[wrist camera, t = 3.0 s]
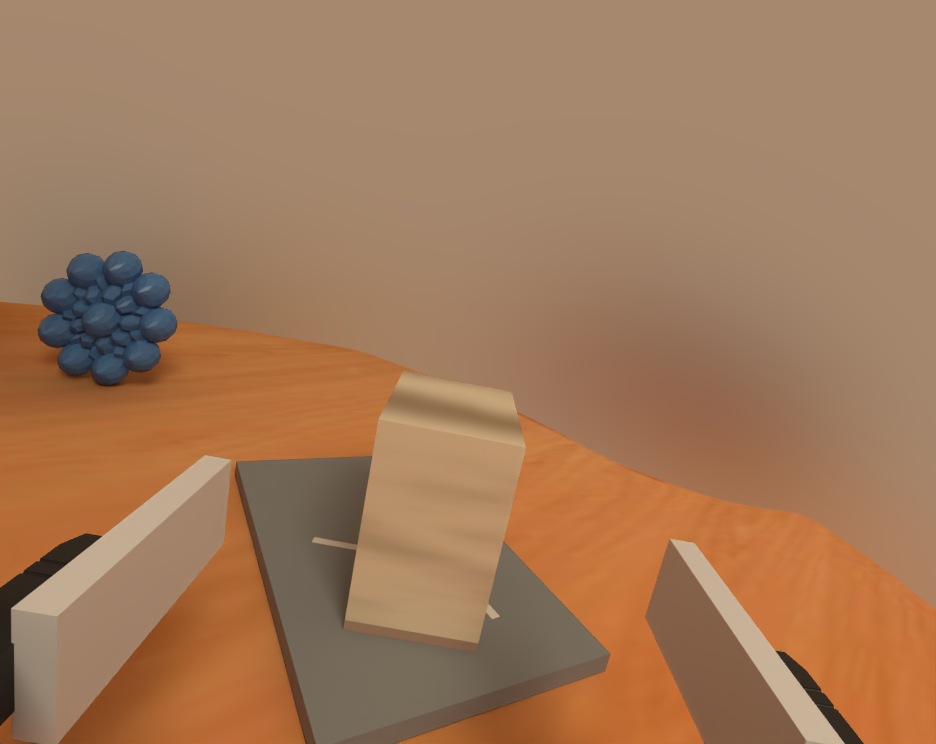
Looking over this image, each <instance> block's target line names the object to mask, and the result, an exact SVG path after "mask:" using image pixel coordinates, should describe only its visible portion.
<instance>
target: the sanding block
mask: <svg viewBox="0 0 936 744" xmlns="http://www.w3.org/2000/svg"><path fill="white" fill-rule="evenodd" d="M525 450H526V445H525V441H524V437H523V434H522V430H521V426H520V422H519V418H518V414H517V411H516V407H515V403H514V399H513V395H512V392H509V391H504V390H499V389H494V388H488V387H483V386H478V385H473V384H468V383H463V382H458V381H453V380H448V379H443V378H437V377H432V376H427V375H422V374H417V373H412V372H407V371H404V372H403V373H402V375H401V377H400V379H399V381H398V383H397V385H396V387H395V389H394V391H393V393H392V395H391V396H390V398H389V400H388V402H387V404H386V406H385V408H384V410H383V412H382V414H381V416H380V418H379V420H378V426H377V432H376V438H375V444H374V450H373V456H372V462H371V468H370V473H369V479H368V485H367V491H366V497H365V503H364V509H363V515H362V521H361V527H360V533H359V539H358V545H357V550H356V556H355V562H354V568H353V574H352V580H351V586H350V592H349V598H348V604H347V610H346V616H345V622H344V627H343V630H349V631H355V632H360V633H366V634H372V635H378V636H383V637H389V638H395V639H400V640H406V641H412V642H418V643H423V644H429V645H435V646H440V647H446V648H452V649H458V650H463V651H469V652H475V653H476V651H477V647H478V643H479V639H480V635H481V631H482V627H483V623H484V618H485V614H486V610H487V606H488V602H489V598H490V594H491V590H492V586H493V581H494V577H495V573H496V569H497V565H498V561H499V557H500V553H501V549H502V545H503V540H504V536H505V532H506V528H507V524H508V520H509V516H510V512H511V508H512V503H513V499H514V495H515V491H516V487H517V483H518V479H519V475H520V471H521V466H522V462H523V458H524V454H525Z"/></svg>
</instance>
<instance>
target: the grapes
mask: <svg viewBox="0 0 936 744" xmlns="http://www.w3.org/2000/svg"><path fill="white" fill-rule="evenodd" d="M66 271H67V276H68V279H69V280H68V279H64V278H59V279H55V280H52V281H50V282H49V283H48V284H46V285H45V287H44V289H43V291H42V294H41V299H42V303H43V305H44V306H45V307H46V308H47V309H48V310H49V311H51V312H55V313H56V314H51V315H48V316H47V317H46V318H45V319H43V320H42V322H41V324H40V326H39V328H38V335H39V338H40V340H41V341H42V342H43V343H45V344H46V345H48V346H50V347H54V348H61V347H64V348H63V349H62V350H61V351H60V353H59V356H58V358H57V360H58V365H59V368H60V369H61V370H63V371H64V372H65V373H67V374H68V375H74V376H79V375H83V374H86V373H87V372H89V371H90V370H91V374H92V377H93V379H95V380H96V381H97V382H98V383H100V384H103V385H108V386H110V385H114V384H117V383H119V382H120V381H121V380H123V379H124V378H125V377H126V376H127V374H128V371H129V369H130V370H132V371H135V372H140V373H142V372H146V371H149V370H151V369H152V368H153V367H154V366H155V365H156V364H157V363H158V362H159V360H160V357H161V353H160V349H159V346H158V345H157V344H156V343H158V342H162V341H166V340H167V339H168V338H169V337H171V336H172V335H173V334H174V333H175V331H176V328H177V320H176V316H175V315H174V314H173V313H172V312H171V311H170V310H168V309H164V308H161V307H160V306H161V305H162V304H163V303H164V302H165V301H166V300H167V299H168V298H169V294H170V285H169V282H168V281H167V279H166V278H165V277H164V276H162V275H159V274H155V273H147V274H142V272H143V268H142V264H141V260H140V259H139V258H138V257H137V256H136V255H135V254H133V253H129V252H126V251H120V252H114V253H113V254H112V255H110V256H109V257H108V258H107V259H106V261H105V262H104V261H103V260H102V259H101V258H100V257H99V256H96V255H93V254H89V253H85V254H80V255H77V256H76V257H75V258H73V259H72V260H71V261H70V263H69V265H68V268H67V270H66ZM141 274H142V275H141ZM155 342H156V343H155Z"/></svg>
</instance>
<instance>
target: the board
mask: <svg viewBox="0 0 936 744" xmlns="http://www.w3.org/2000/svg"><path fill="white" fill-rule="evenodd" d="M371 462H372V456H366V457H340V458H314V459H288V460H262V461H236V471H235V476H236V480H237V484H238V488H239V491H240V495H241V499H242V503H243V507H244V510H245V514H246V518H247V522H248V525H249V529H250V533H251V537H252V541H253V544H254V548H255V552H256V556H257V559H258V563H259V567H260V571H261V575H262V578H263V582H264V586H265V590H266V594H267V597H268V601H269V605H270V609H271V612H272V616H273V620H274V624H275V628H276V631H277V635H278V639H279V643H280V646H281V650H282V654H283V658H284V662H285V665H286V669H287V673H288V677H289V680H290V684H291V688H292V692H293V696H294V699H295V703H296V707H297V711H298V714H299V718H300V722H301V726H302V730H303V733H304V737H305V741H306V744H394V743H397V742H400V741H403V740H406V739H408V738H411V737H414V736H417V735H420V734H423V733H426V732H429V731H432V730H435V729H437V728H440V727H443V726H446V725H449V724H452V723H455V722H458V721H461V720H464V719H466V718H469V717H472V716H475V715H478V714H481V713H484V712H487V711H490V710H493V709H495V708H498V707H501V706H504V705H507V704H510V703H513V702H516V701H519V700H522V699H525V698H527V697H530V696H533V695H536V694H539V693H542V692H545V691H548V690H551V689H554V688H556V687H559V686H562V685H565V684H568V683H571V682H574V681H577V680H580V679H583V678H585V677H588V676H591V675H594V674H597V673H600V672H603V671H605V669H606V666H607V663H608V660H609V656H610V653H609V652H608V651H607V650H606V649H605V648H604V647H603V645H602V644H601V643H600V642H599V641H598V640H597V639H596V638H595V637H594V636H593V635H592V634H591V633H590V632H589V631H588V630H587V629H586V628H585V626H584V625H583V624H582V623H581V622H580V621H579V620H578V619H577V618H576V617H575V616H574V615H573V614H572V613H571V612H570V611H569V610H568V609H567V608H566V606H565V605H564V604H563V603H562V602H561V601H560V600H559V599H558V598H557V597H556V596H555V595H554V594H553V593H552V592H551V591H550V590H549V589H548V588H547V586H546V585H545V584H544V583H543V582H542V581H541V580H540V579H539V578H538V577H537V576H536V575H535V574H534V573H533V572H532V571H531V570H530V569H529V568H528V566H527V565H526V564H525V563H524V562H523V561H522V560H521V559H520V558H519V557H518V556H517V555H516V554H515V553H514V552H513V551H512V550H511V549H510V547H509V546H508V545H507V544H506V543H505V542H504V541H503V545H502V549H501V553H500V557H499V561H498V565H497V569H496V573H495V577H494V581H493V586H492V590H491V594H490V598H489V602H488V606H487V610H486V614H485V618H484V623H483V627H482V631H481V635H480V639H479V643H478V647H477V651H476V653H475V652H469V651H463V650H458V649H452V648H446V647H440V646H435V645H429V644H423V643H418V642H412V641H406V640H400V639H395V638H389V637H383V636H378V635H372V634H366V633H360V632H355V631H349V630H343V627H344V622H345V616H346V610H347V604H348V598H349V592H350V586H351V580H352V574H353V568H354V562H355V556H356V550H357V545H358V539H359V533H360V527H361V521H362V515H363V509H364V503H365V497H366V491H367V485H368V479H369V473H370V468H371Z"/></svg>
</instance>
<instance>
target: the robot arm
mask: <svg viewBox="0 0 936 744" xmlns="http://www.w3.org/2000/svg"><path fill="white" fill-rule="evenodd" d="M231 461H232V460H229V459H223V458H218V457H212V456H207V455H205V456H204V457H202V458H201V459H200V460H198V461H197V462H196V463H195V464H193V465H192V466H191V467H190V468H188V469H187V470H186V471H185V472H183V473H182V474H181V475H179V476H178V477H177V478H176V479H174V480H173V481H172V482H171V483H169V484H168V485H167V486H166V487H164V488H163V489H162V490H160V491H159V492H158V493H157V494H155V495H154V496H153V497H152V498H150V499H149V500H148V501H147V502H145V503H144V504H143V505H142V506H140V507H139V508H138V509H136V510H135V511H134V512H133V513H131V514H130V515H129V516H128V517H126V518H125V519H124V520H123V521H121V522H120V523H119V524H117V525H116V526H115V527H114V528H112V529H111V530H110V531H109V532H107V533H106V534H105V535H104V536H98V535H92V534H84V535H81V536H79V537H76V538H74V539H71V540H69V541H67V542H64V543H62V544H60V545H58V546H57V547H56V548H54V549H53V550H51V551H50V552H49V553H47V554H46V555H45V556H43V557H42V558H40V561H39V562H37V561H36V562H35V563H34V564H32V565H31V566H30V567H28V568H27V569H25V570H24V572H23V574H19V575H17V576H16V577H14V578H13V579H12V580H10V581H9V582H8V583H6V584H5V585H3V586H2V587H1V588H0V726H1V725H2V723H3V722H4V721H5V720H6V719H7V718H8V717H9V716H10V715H11V714H12V740H18V741H24V742H30V743H37V744H58V743H59V742H60V741H61V739H62V738H63V737H64V736H65V735H66V733H67V732H68V731H69V730H70V729H71V727H72V726H73V725H74V724H75V723H76V721H77V720H78V719H79V718H80V716H81V715H82V714H83V713H84V712H85V710H86V709H87V708H88V707H89V706H90V704H91V703H92V702H93V701H94V700H95V698H96V697H97V696H98V695H99V694H100V692H101V691H102V690H103V689H104V688H105V686H106V685H107V684H108V683H109V681H110V680H111V679H112V678H113V677H114V675H115V674H116V673H117V672H118V671H119V669H120V668H121V667H122V666H123V665H124V663H125V662H126V661H127V660H128V659H129V657H130V656H131V655H132V654H133V653H134V651H135V650H136V649H137V648H138V646H139V645H140V644H141V643H142V642H143V640H144V639H145V638H146V637H147V636H148V634H149V633H150V632H151V631H152V630H153V628H154V627H155V626H156V625H157V624H158V622H159V621H160V620H161V619H162V618H163V616H164V615H165V614H166V613H167V611H168V610H169V609H170V608H171V607H172V605H173V604H174V603H175V602H176V601H177V599H178V598H179V597H180V596H181V595H182V593H183V592H184V591H185V590H186V589H187V587H188V586H189V585H190V584H191V583H192V581H193V580H194V579H195V578H196V576H197V575H198V574H199V573H200V572H201V570H202V569H203V568H204V567H205V566H206V564H207V563H208V562H209V561H210V560H211V558H212V557H213V556H214V555H215V554H216V552H217V551H218V550H219V549H220V547H221V546H222V545H223V544H224V534H225V524H226V513H227V503H228V492H229V482H230V471H231ZM645 618H646V620H647V622H648V624H649V626H650V628H651V630H652V633H653V635H654V637H655V639H656V641H657V643H658V645H659V647H660V650H661V652H662V654H663V656H664V658H665V660H666V662H667V665H668V667H669V669H670V671H671V673H672V675H673V677H674V680H675V682H676V684H677V686H678V688H679V690H680V692H681V694H682V697H683V699H684V701H685V703H686V705H687V707H688V709H689V712H690V714H691V716H692V718H693V720H694V722H695V724H696V727H697V729H698V731H699V733H700V735H701V737H702V739H703V741H704V744H864V743H863V742H862V741H861V739H860V738H859V737H858V736H857V734H856V733H855V732H854V731H853V729H852V728H851V727H850V725H849V724H848V723H847V722H846V720H845V719H844V718H843V717H842V715H841V714H840V713H839V712H838V710H836V709H834V705H833V704H832V703H831V701H830V700H829V699H828V698H827V696H826V695H825V694H824V693H821V689H820V687H819V686H818V685H817V684H816V682H815V681H814V680H813V679H812V677H811V676H810V675H809V673H808V672H807V671H806V670H805V669H804V668H803V667H802V666H800V665H799V664H798V663H797V662H796V661H794V660H793V659H792V658H791V657H790V656H789V655H787V654H786V653H785V652H780V651H775V650H774V649H773V647H772V646H771V645H770V643H769V642H768V641H767V639H766V638H765V637H764V635H763V634H762V633H761V631H760V630H759V629H758V627H757V626H756V625H755V623H754V622H753V621H752V619H751V618H750V617H749V615H748V614H747V613H746V611H745V610H744V609H743V607H742V606H741V605H740V603H739V602H738V601H737V599H736V598H735V597H734V595H733V594H732V593H731V591H730V590H729V589H728V587H727V586H726V585H725V583H724V582H723V581H722V579H721V578H720V577H719V575H718V574H717V573H716V571H715V570H714V569H713V567H712V566H711V565H710V563H709V562H708V561H707V559H706V558H705V557H704V555H703V554H702V553H701V551H700V550H699V549H698V547H697V546H696V545H695V543H691V542H685V541H680V540H674V539H669V543H668V546H667V549H666V552H665V555H664V558H663V562H662V565H661V568H660V571H659V574H658V577H657V581H656V584H655V587H654V590H653V593H652V597H651V600H650V603H649V606H648V609H647V612H646V616H645Z"/></svg>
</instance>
